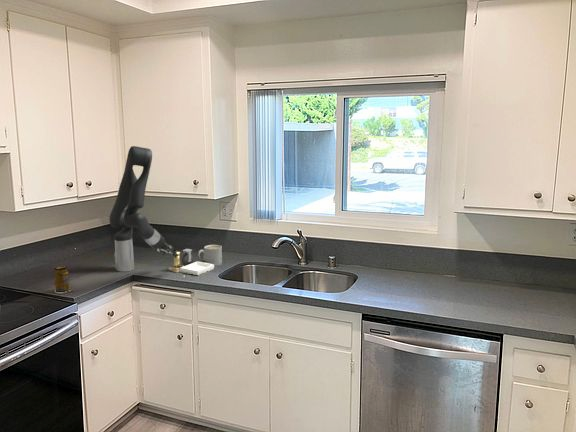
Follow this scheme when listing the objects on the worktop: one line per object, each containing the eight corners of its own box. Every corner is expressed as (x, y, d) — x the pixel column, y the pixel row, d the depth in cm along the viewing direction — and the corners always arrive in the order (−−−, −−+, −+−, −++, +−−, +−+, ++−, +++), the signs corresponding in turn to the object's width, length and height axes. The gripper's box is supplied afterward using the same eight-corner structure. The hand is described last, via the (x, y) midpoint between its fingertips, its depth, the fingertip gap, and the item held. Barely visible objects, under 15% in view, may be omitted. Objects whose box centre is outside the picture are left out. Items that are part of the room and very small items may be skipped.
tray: (180, 272, 251) (180, 267, 250) (197, 265, 263) (197, 261, 262) (197, 275, 245) (197, 271, 245) (214, 268, 257) (214, 264, 257)
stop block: (169, 270, 253) (169, 267, 253) (177, 267, 259) (176, 264, 258) (177, 272, 251) (177, 269, 250) (185, 269, 256) (185, 266, 255)
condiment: (67, 287, 227) (65, 264, 225) (74, 291, 222) (72, 267, 219) (51, 291, 222) (49, 267, 220) (58, 295, 216) (56, 271, 214)
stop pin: (172, 270, 254) (171, 252, 252) (177, 268, 257) (176, 251, 255) (177, 271, 252) (176, 253, 250) (182, 269, 255) (181, 251, 253)
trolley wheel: (181, 267, 260) (180, 251, 258) (189, 264, 266) (188, 248, 264) (186, 268, 258) (185, 251, 256) (194, 265, 264) (193, 248, 262)
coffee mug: (224, 261, 271) (224, 245, 269) (218, 266, 261) (218, 249, 259) (202, 260, 273) (202, 244, 271) (196, 265, 264) (195, 248, 262)
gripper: (167, 233, 235) (183, 250, 247) (147, 231, 242) (163, 247, 254) (160, 246, 231) (177, 262, 243) (140, 243, 238) (157, 259, 250)
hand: (170, 254), depth 248 cm, fingers open, 8 cm apart
